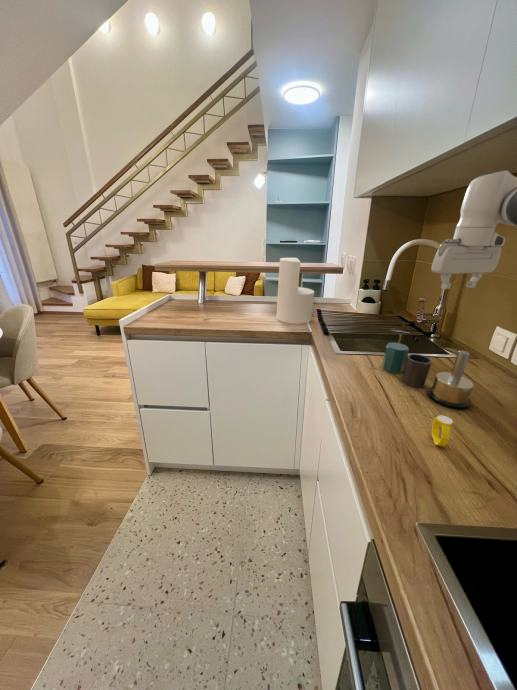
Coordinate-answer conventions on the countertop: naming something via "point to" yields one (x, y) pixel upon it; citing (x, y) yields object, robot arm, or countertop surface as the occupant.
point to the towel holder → (453, 386)
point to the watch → (446, 424)
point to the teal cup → (395, 357)
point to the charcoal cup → (416, 370)
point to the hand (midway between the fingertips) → (457, 288)
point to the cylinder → (293, 294)
